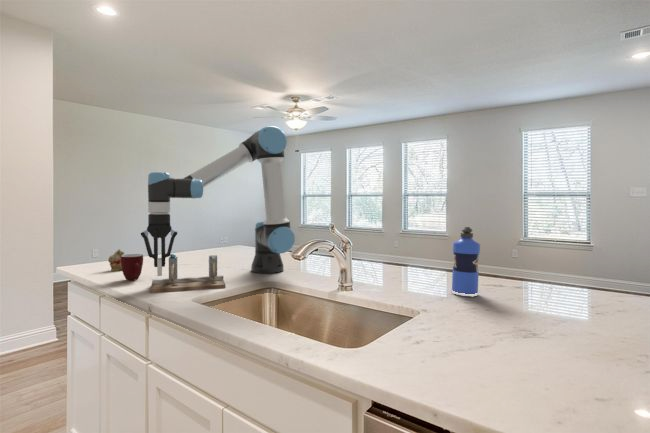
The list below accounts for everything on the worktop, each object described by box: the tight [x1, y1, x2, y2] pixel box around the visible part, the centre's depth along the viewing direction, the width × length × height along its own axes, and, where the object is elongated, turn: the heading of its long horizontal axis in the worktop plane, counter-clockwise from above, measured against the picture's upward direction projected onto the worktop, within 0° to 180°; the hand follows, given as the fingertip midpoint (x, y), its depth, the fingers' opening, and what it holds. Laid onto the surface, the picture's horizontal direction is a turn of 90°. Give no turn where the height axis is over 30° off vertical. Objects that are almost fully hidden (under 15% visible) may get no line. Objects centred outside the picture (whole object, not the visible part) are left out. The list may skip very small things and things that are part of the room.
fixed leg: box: [208, 254, 218, 279], centre depth 143 cm, size 3×8×8 cm, turn 21°
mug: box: [121, 253, 144, 282], centre depth 147 cm, size 11×8×10 cm
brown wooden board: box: [149, 275, 226, 294], centre depth 139 cm, size 26×12×3 cm, turn 111°
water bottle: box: [451, 226, 481, 294], centre depth 134 cm, size 9×9×25 cm
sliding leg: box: [168, 253, 178, 281], centre depth 137 cm, size 3×8×9 cm, turn 21°
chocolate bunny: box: [108, 248, 125, 272], centre depth 167 cm, size 6×8×10 cm
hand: (159, 275), depth 138 cm, fingers closed
